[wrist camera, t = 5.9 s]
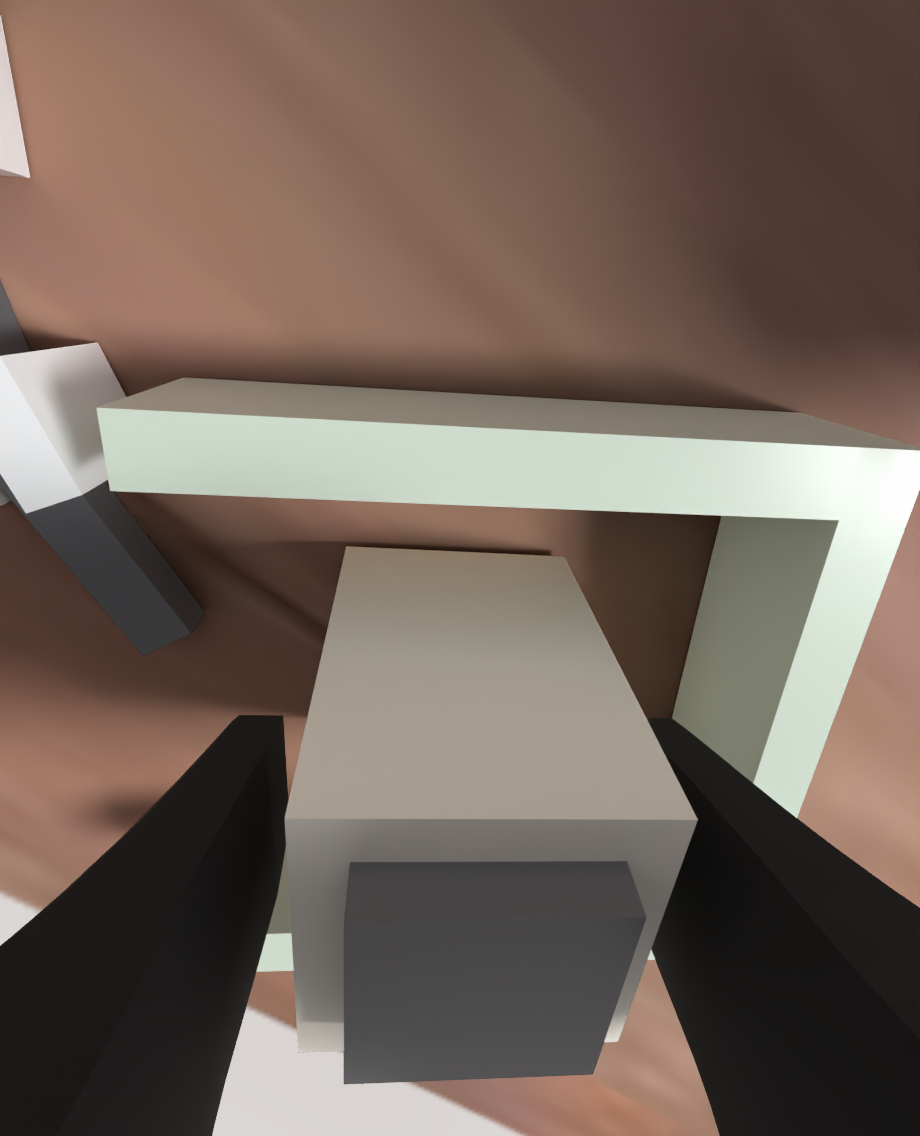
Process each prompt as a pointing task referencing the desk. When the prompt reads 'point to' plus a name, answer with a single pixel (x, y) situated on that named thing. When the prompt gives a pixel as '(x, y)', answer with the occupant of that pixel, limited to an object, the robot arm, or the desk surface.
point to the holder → (587, 482)
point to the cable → (109, 548)
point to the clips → (47, 382)
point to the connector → (473, 824)
